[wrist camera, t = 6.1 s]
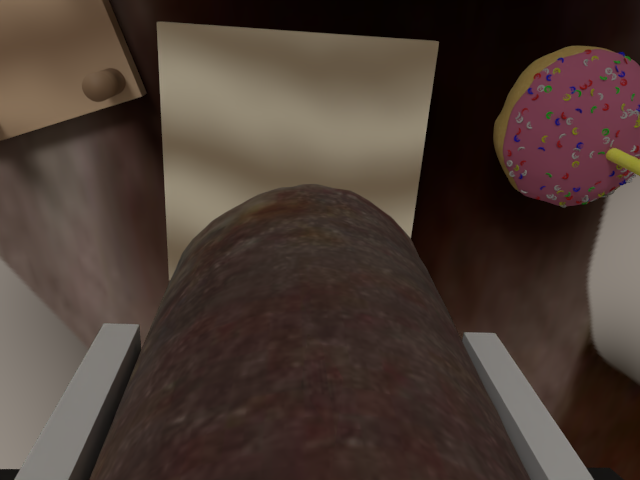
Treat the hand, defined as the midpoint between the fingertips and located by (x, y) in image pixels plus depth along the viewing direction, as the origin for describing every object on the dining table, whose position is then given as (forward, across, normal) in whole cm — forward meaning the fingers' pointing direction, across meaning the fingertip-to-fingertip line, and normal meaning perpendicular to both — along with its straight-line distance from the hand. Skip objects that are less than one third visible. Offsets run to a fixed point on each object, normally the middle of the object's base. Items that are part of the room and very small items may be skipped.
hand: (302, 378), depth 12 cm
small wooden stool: (+22, 0, 0) cm, 22 cm away
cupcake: (+22, +15, +3) cm, 27 cm away
